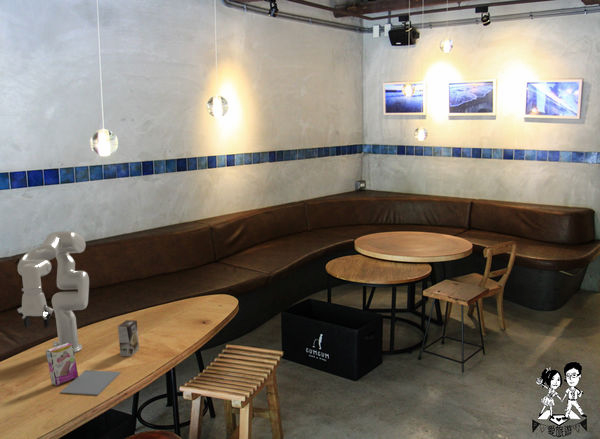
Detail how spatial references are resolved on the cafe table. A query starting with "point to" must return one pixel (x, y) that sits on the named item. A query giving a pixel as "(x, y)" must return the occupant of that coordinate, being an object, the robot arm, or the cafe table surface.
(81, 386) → the mat
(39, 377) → the cafe table surface
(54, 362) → the candy bar box
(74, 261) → the robot arm
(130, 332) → the coffee box
